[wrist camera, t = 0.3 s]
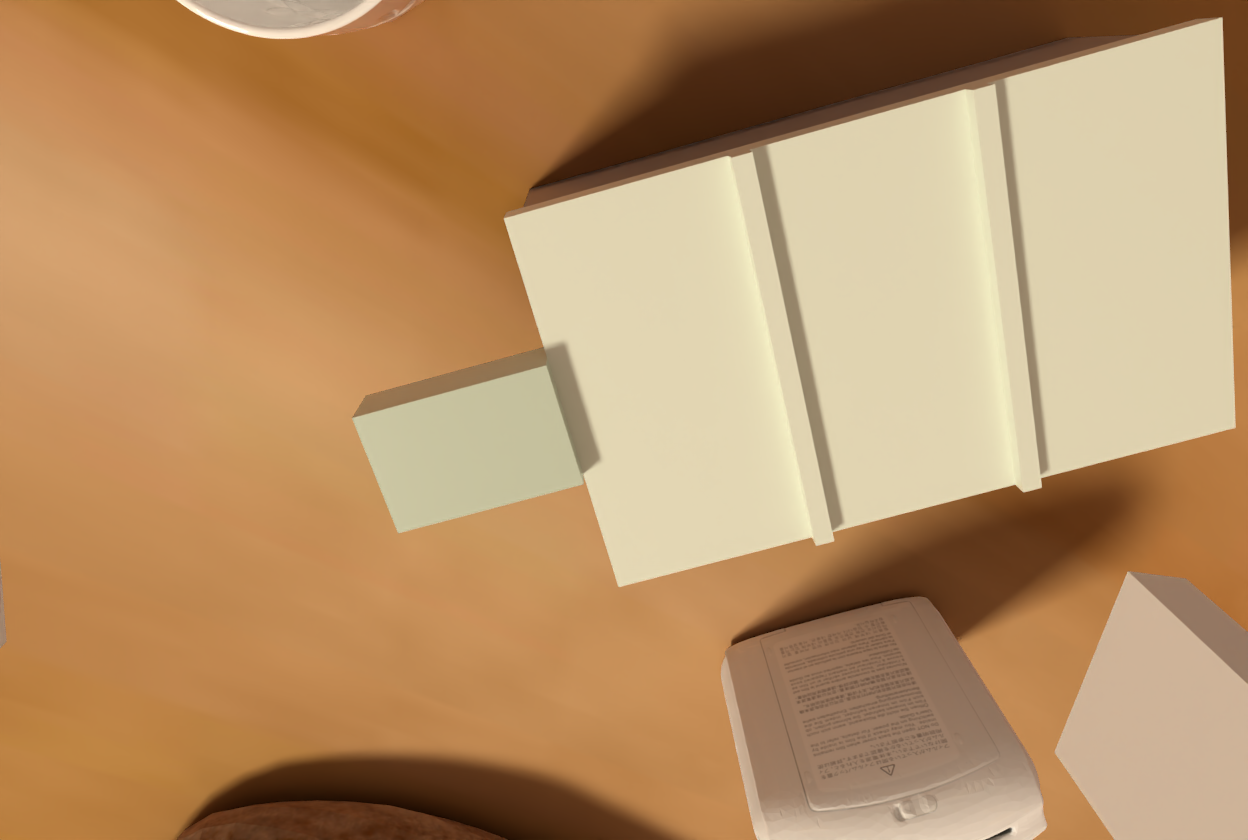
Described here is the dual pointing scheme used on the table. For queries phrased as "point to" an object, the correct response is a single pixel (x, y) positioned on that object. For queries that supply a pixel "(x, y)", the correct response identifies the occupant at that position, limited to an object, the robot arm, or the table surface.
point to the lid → (856, 317)
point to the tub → (817, 116)
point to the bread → (329, 823)
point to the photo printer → (875, 733)
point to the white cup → (299, 15)
